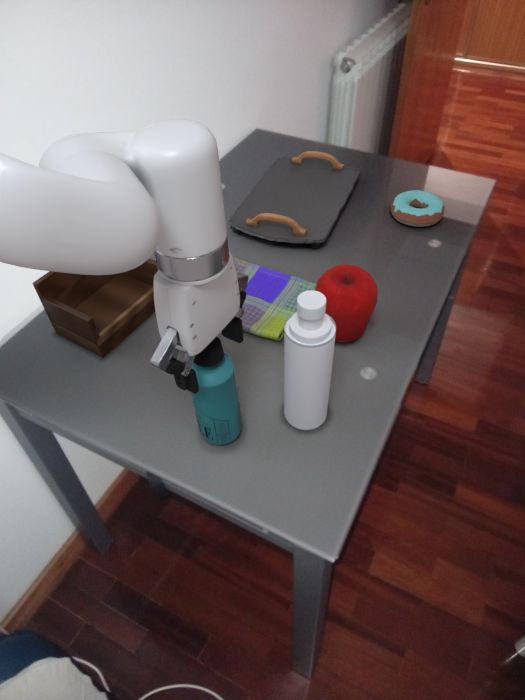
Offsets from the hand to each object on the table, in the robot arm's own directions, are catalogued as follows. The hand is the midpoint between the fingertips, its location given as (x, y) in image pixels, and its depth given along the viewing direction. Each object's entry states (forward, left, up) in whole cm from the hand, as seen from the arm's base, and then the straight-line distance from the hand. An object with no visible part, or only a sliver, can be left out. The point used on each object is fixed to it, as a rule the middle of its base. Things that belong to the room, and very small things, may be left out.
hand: (211, 362), depth 63 cm
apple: (+29, -6, -17) cm, 34 cm away
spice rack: (+11, +33, -16) cm, 38 cm away
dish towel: (+28, +14, -17) cm, 35 cm away
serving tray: (+63, +22, -17) cm, 69 cm away
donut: (+72, -4, -17) cm, 74 cm away
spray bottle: (+10, -9, -17) cm, 21 cm away
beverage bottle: (0, 0, -17) cm, 17 cm away
